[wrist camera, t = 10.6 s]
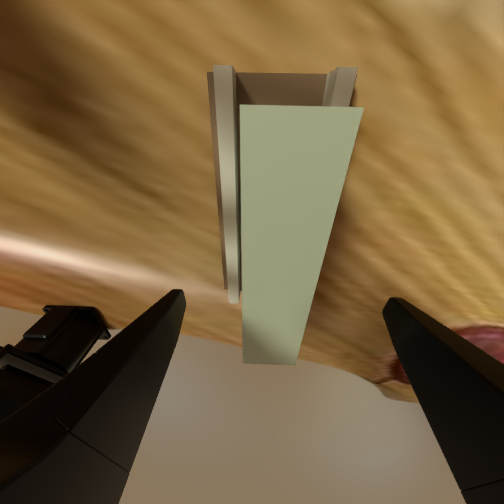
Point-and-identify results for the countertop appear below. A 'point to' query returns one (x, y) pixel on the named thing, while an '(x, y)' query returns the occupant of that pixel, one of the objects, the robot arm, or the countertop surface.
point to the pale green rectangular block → (287, 217)
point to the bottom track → (228, 137)
